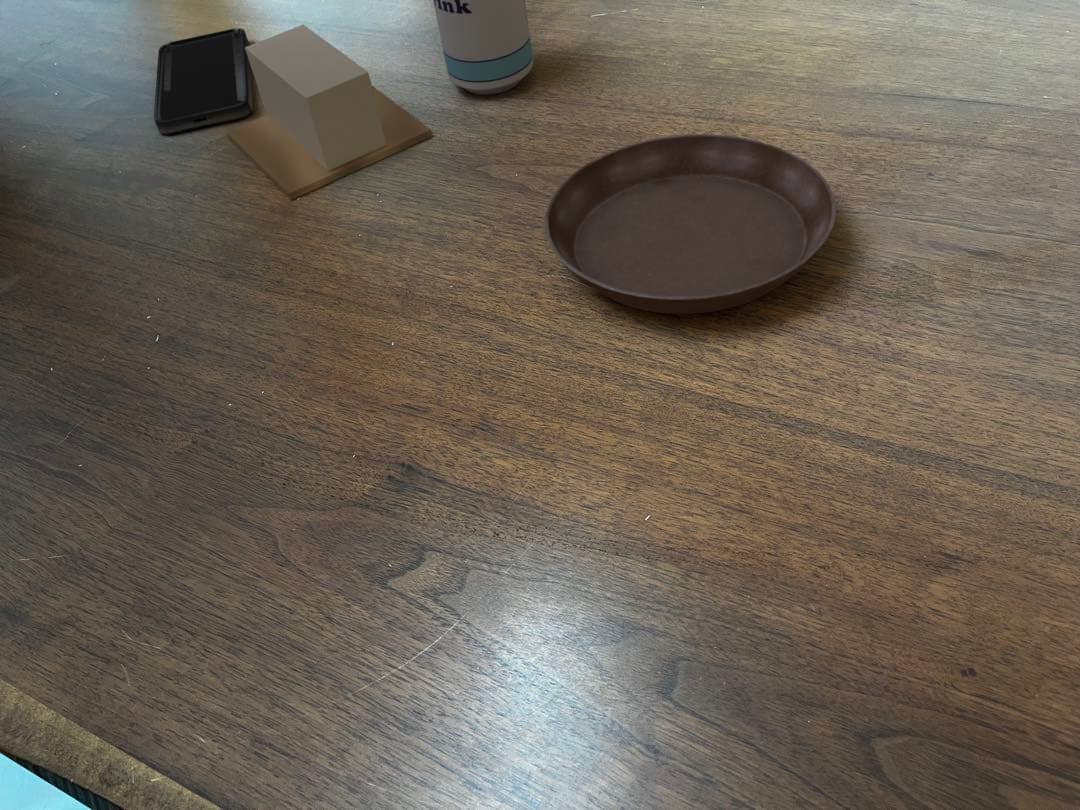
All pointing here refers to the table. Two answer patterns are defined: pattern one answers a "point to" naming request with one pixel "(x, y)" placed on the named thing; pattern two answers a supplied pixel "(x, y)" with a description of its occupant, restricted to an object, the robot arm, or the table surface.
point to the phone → (203, 81)
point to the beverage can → (485, 43)
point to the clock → (317, 96)
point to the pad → (300, 169)
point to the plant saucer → (690, 222)
